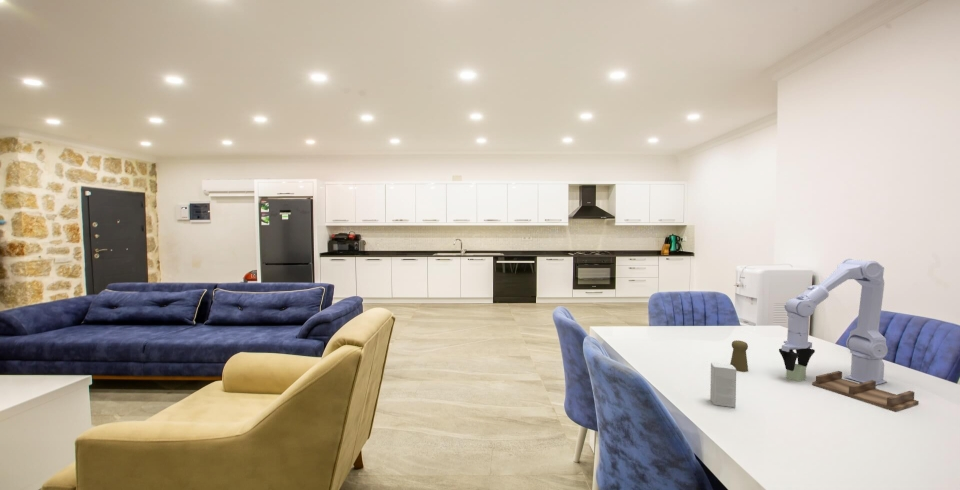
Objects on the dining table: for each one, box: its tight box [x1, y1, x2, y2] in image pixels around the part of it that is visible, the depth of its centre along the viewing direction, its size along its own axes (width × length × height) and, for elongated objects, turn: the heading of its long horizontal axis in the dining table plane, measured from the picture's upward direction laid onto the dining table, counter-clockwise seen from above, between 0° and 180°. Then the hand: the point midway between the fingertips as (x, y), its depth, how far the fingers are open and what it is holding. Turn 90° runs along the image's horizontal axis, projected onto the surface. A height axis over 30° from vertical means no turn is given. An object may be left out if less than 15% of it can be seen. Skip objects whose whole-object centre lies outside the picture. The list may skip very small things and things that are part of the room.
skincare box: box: [709, 362, 737, 408], centre depth 117 cm, size 6×4×12 cm
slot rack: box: [811, 370, 920, 413], centre depth 125 cm, size 14×21×4 cm, turn 22°
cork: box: [729, 340, 749, 373], centre depth 147 cm, size 6×6×11 cm
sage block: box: [785, 363, 807, 382], centre depth 138 cm, size 4×4×5 cm
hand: (795, 368), depth 137 cm, fingers open, 7 cm apart
